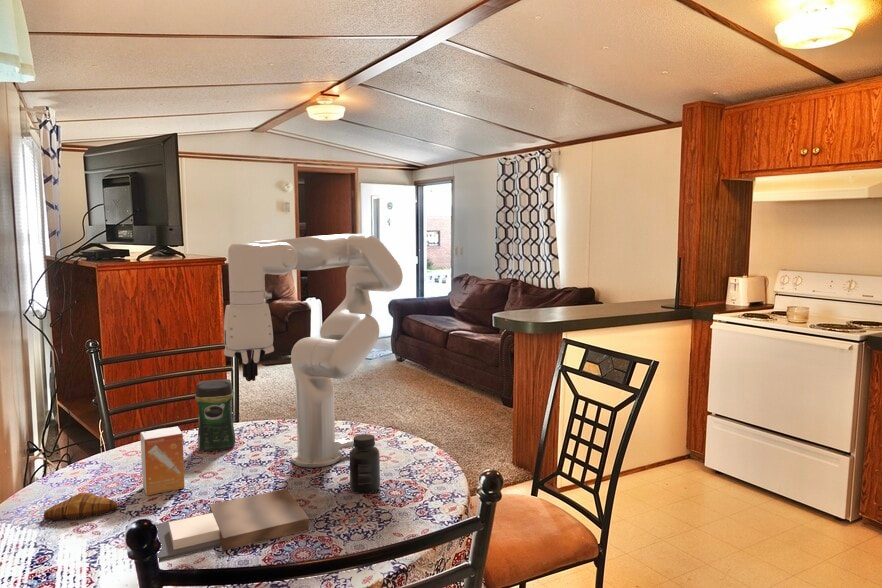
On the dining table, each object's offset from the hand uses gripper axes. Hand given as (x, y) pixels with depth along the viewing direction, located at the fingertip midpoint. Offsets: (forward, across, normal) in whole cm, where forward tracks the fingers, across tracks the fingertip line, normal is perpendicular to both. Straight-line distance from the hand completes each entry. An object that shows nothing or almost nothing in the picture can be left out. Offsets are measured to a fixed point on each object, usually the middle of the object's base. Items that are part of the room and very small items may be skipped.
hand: (250, 379), depth 136 cm
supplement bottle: (+25, -22, +13) cm, 36 cm away
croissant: (+26, +34, -4) cm, 43 cm away
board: (+25, +3, +18) cm, 31 cm away
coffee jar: (+25, +3, -32) cm, 41 cm away
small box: (+25, +18, -10) cm, 33 cm away
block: (+24, +15, +18) cm, 34 cm away
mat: (+25, +16, +17) cm, 34 cm away
